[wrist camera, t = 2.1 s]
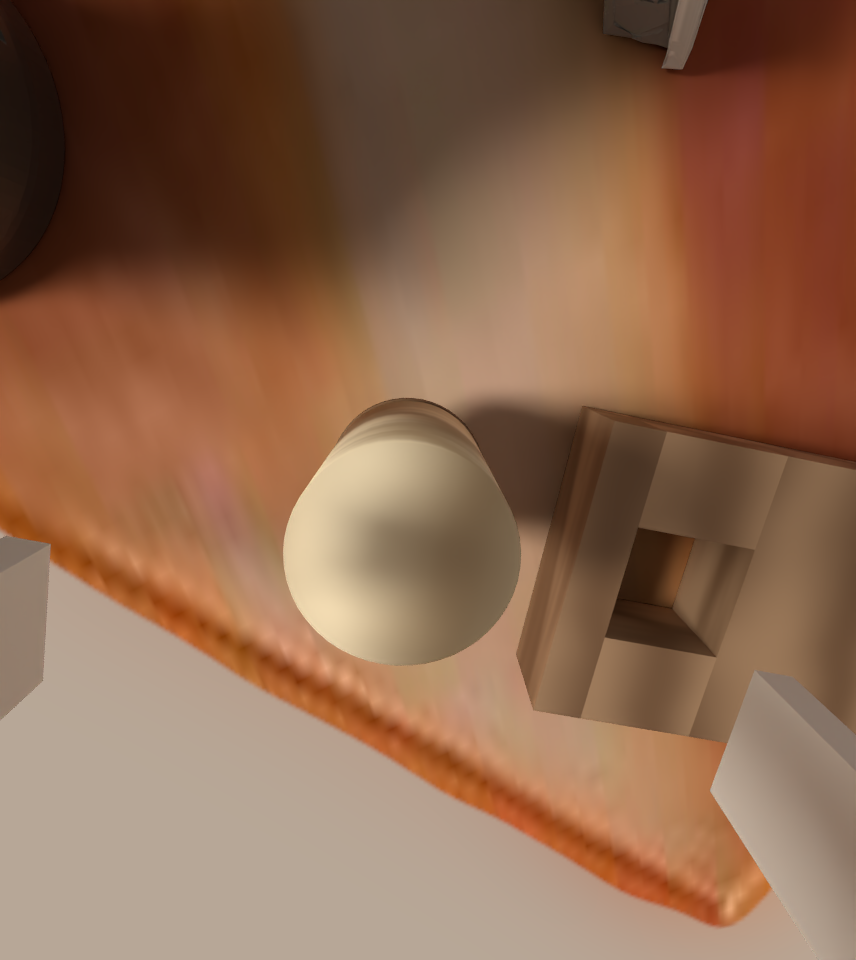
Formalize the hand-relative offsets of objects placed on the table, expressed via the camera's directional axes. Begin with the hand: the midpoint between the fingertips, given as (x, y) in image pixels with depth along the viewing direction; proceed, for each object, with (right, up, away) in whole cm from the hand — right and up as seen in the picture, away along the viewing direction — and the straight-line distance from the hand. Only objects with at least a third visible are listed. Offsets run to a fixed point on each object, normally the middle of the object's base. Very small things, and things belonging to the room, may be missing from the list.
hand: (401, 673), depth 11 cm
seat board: (+16, -1, +21) cm, 26 cm away
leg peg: (0, +5, +19) cm, 20 cm away
